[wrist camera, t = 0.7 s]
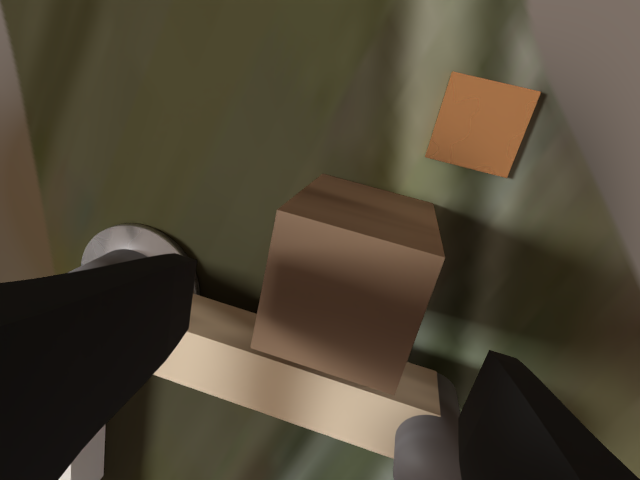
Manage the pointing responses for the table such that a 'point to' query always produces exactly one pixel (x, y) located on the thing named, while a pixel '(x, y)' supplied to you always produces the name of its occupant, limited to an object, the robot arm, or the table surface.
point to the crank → (315, 390)
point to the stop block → (348, 281)
